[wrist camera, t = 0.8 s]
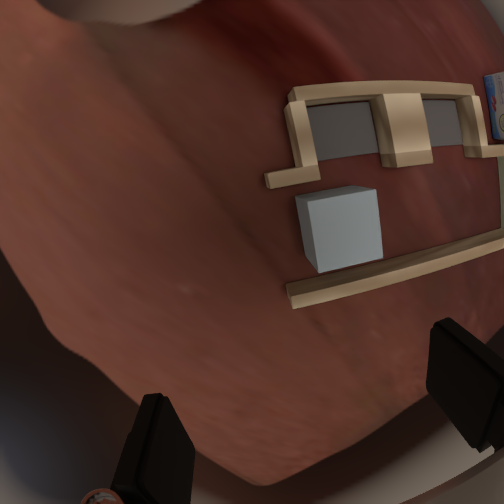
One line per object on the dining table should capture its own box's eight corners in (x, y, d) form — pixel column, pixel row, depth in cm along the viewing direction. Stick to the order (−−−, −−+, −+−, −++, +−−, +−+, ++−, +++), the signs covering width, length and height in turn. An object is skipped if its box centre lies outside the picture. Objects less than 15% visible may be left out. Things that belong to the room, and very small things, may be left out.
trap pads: (299, 109, 25) (300, 108, 24) (453, 100, 25) (454, 100, 24) (310, 162, 26) (311, 162, 26) (461, 144, 26) (462, 144, 26)
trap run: (248, 101, 24) (250, 93, 21) (485, 91, 24) (502, 88, 21) (287, 295, 29) (293, 309, 26) (500, 237, 29) (516, 243, 26)
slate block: (294, 195, 27) (307, 201, 22) (352, 185, 27) (375, 189, 22) (304, 255, 28) (318, 273, 23) (360, 242, 28) (382, 257, 23)
